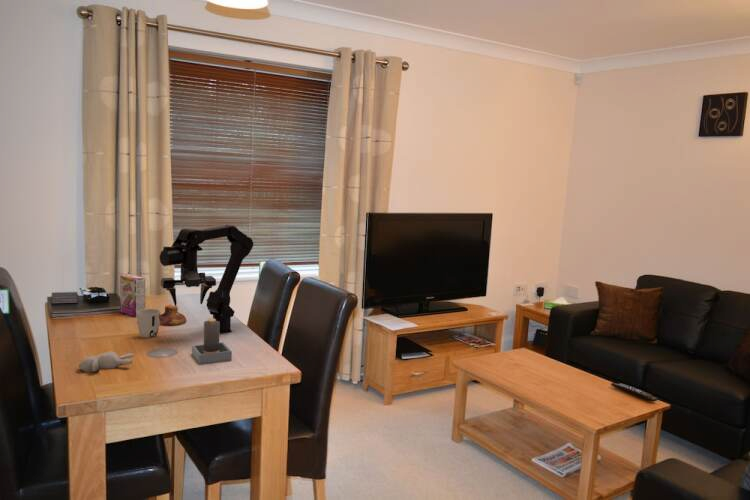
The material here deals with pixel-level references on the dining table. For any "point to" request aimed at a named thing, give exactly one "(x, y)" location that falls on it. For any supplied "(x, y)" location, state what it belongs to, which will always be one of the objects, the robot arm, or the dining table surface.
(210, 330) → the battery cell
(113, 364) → the bunny figurine
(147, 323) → the cup
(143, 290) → the candy bar box
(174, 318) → the brown rounded piece
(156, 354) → the pad
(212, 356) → the dish
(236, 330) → the dining table surface
